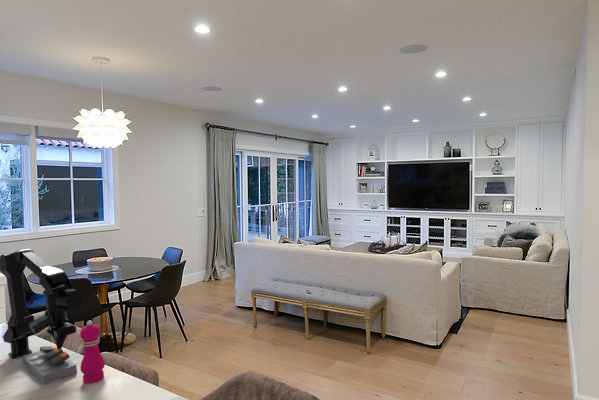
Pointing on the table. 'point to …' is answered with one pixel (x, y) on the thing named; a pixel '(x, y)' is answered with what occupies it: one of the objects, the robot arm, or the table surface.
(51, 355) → the rocker middle
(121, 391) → the table surface
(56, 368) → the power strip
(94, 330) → the pepper mill
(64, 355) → the rocker outer
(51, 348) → the rocker inner
